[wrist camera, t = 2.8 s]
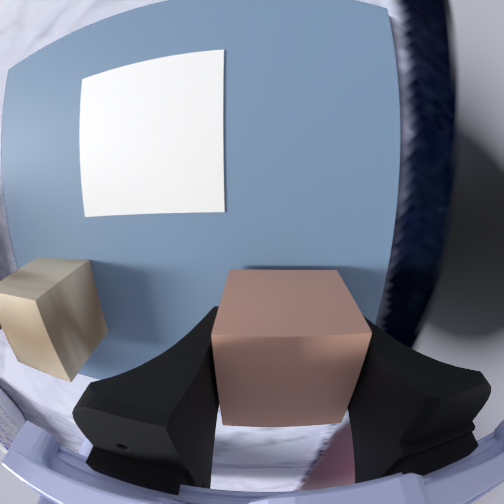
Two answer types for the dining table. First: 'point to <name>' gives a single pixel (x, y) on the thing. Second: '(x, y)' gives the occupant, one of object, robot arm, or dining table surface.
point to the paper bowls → (9, 421)
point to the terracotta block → (287, 348)
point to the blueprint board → (205, 157)
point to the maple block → (52, 315)
